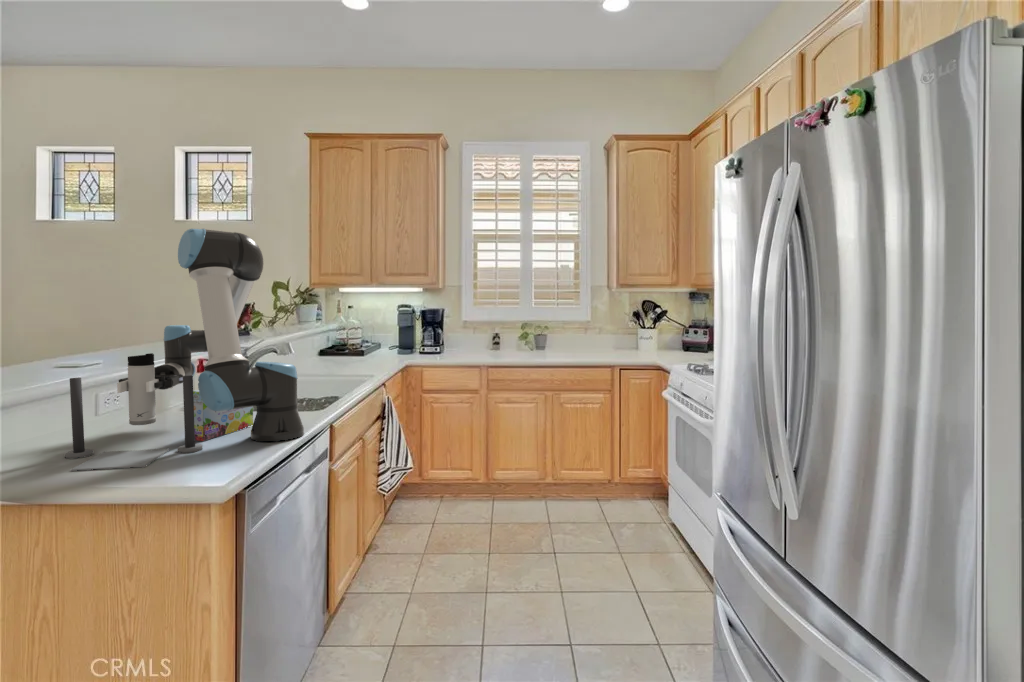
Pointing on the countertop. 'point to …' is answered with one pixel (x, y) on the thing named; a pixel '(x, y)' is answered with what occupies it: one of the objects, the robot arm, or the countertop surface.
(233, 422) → the snack box
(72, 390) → the post
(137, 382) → the travel mug
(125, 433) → the countertop surface
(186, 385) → the post
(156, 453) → the mat
